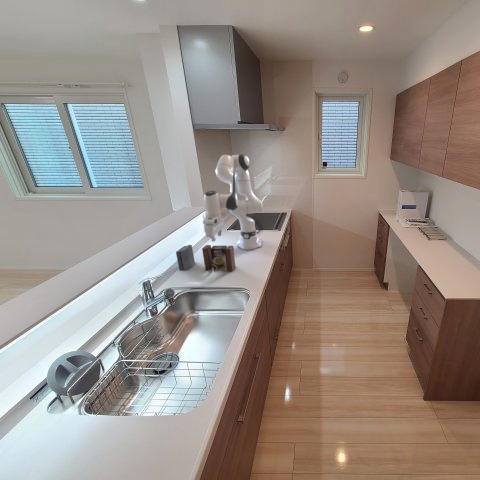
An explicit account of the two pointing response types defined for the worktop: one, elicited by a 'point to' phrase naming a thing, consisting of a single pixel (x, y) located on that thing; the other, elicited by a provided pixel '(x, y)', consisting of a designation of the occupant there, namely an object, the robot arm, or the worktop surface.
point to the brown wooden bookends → (208, 258)
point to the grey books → (185, 257)
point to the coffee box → (219, 258)
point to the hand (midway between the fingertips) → (216, 238)
